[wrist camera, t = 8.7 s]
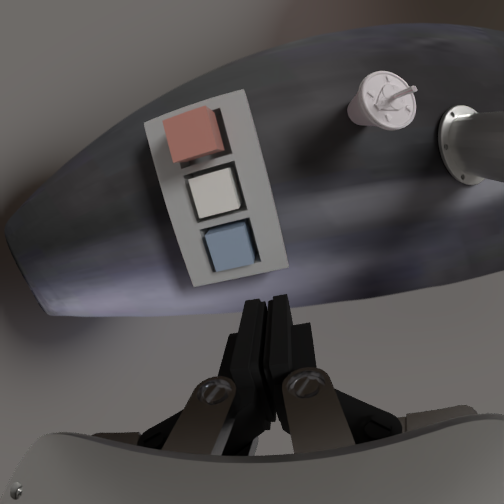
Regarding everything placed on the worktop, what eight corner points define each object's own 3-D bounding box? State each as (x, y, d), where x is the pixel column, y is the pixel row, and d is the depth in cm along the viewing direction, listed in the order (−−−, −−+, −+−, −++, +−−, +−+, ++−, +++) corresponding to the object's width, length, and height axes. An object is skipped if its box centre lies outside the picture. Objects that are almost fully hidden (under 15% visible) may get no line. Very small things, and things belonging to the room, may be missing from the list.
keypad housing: (247, 98, 31) (243, 89, 26) (286, 252, 37) (288, 267, 32) (160, 126, 32) (143, 122, 27) (202, 270, 39) (193, 287, 34)
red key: (214, 112, 27) (205, 105, 23) (224, 150, 28) (217, 148, 24) (176, 125, 27) (162, 120, 23) (186, 161, 29) (173, 162, 25)
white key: (233, 166, 32) (227, 167, 28) (242, 201, 33) (238, 208, 29) (198, 176, 33) (188, 179, 28) (207, 210, 34) (199, 218, 30)
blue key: (246, 217, 34) (243, 226, 30) (255, 250, 35) (253, 263, 31) (212, 225, 35) (204, 235, 30) (222, 258, 36) (216, 271, 32)
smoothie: (390, 121, 30) (449, 108, 17) (356, 144, 32) (406, 139, 18) (362, 82, 29) (410, 48, 15) (327, 104, 30) (362, 74, 17)
